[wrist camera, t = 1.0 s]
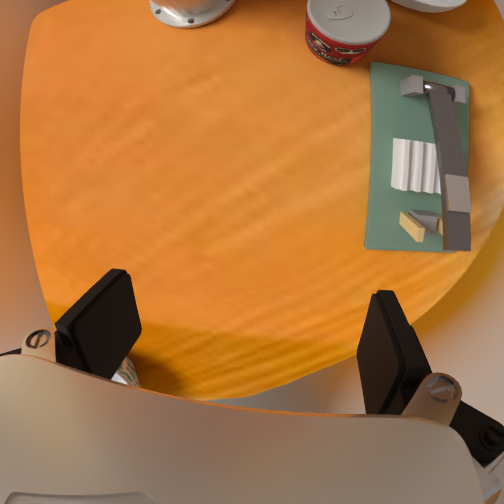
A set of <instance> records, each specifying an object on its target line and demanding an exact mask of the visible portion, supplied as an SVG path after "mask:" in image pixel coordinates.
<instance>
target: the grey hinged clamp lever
mask: <svg viewBox="0 0 504 504" xmlns="http://www.w3.org/2000/svg"><path fill="white" fill-rule="evenodd" d="M423 94H426V98H427V103H428V107H429V112H430V117H431V122H432V128H433V134H434V140H435V146H436V153H437V161H438V169H439V179H440V190H441V204H442V227H443V250H448V251H471V235H470V213H471V200H470V189H469V180H468V177H466V169H465V162H464V156H463V149H462V144H461V138H460V133H459V128H458V123H457V119H456V114H455V110H454V106H453V102H452V99H453V98H454V89H453V87H450V86H446V85H442V84H438V83H434V82H429V81H425V80H423Z"/></svg>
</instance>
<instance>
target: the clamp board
mask: <svg viewBox="0 0 504 504" xmlns="http://www.w3.org/2000/svg"><path fill="white" fill-rule="evenodd" d="M423 80H425V81H429V82H434V83H438V84H442V85H446V86H450V87H453V89H454V98H453V99H452V102H453V106H454V110H455V114H456V119H457V123H458V128H459V133H460V138H461V144H462V149H463V156H464V162H465V169H466V177H467V172H468V159H469V139H470V101H469V82H467V81H464V80H460V79H457V78H453V77H449V76H446V75H442V74H438V73H433V72H429V71H425V70H420V69H415V68H410V67H405V66H399V65H393V64H387V63H380V62H371V63H370V84H371V160H370V181H369V197H368V210H367V221H366V231H365V240H364V246H365V248H366V249H377V250H403V251H428V252H452V253H455V251H448V250H443V227H442V204H441V190H440V179H439V169H438V161H437V153H436V146H435V140H434V134H433V128H432V122H431V117H430V112H429V107H428V103H427V98H426V94H423Z"/></svg>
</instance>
